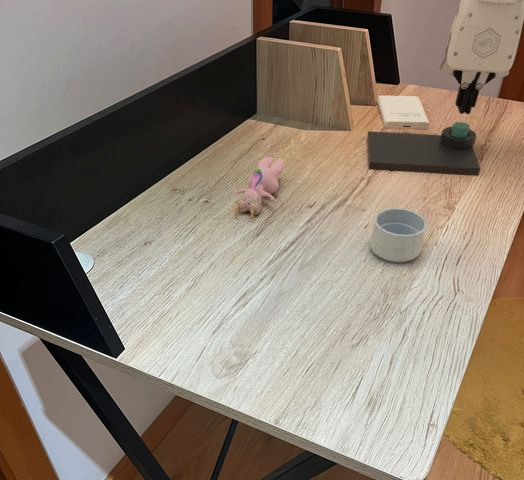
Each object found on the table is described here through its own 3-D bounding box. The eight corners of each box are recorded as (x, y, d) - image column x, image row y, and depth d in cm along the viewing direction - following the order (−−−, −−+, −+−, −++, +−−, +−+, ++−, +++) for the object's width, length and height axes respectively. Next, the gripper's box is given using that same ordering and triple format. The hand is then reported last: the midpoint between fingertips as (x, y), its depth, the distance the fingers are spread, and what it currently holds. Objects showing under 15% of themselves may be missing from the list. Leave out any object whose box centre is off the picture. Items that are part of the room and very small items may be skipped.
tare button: (465, 132, 100) (468, 122, 99) (468, 139, 98) (470, 129, 97) (449, 131, 100) (452, 121, 99) (451, 138, 99) (454, 128, 97)
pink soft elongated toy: (264, 231, 84) (295, 171, 93) (262, 198, 80) (295, 138, 88) (225, 222, 86) (259, 164, 94) (221, 190, 81) (257, 132, 89)
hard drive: (417, 104, 116) (428, 130, 107) (376, 103, 116) (384, 129, 107) (418, 96, 115) (430, 121, 106) (378, 95, 115) (385, 120, 106)
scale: (468, 143, 103) (473, 127, 101) (480, 176, 94) (485, 159, 92) (366, 137, 104) (369, 121, 102) (368, 169, 96) (371, 152, 93)
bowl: (417, 237, 81) (424, 209, 78) (422, 266, 76) (429, 237, 73) (369, 234, 82) (373, 206, 79) (370, 262, 77) (375, 234, 74)
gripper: (448, -11, 81) (420, 117, 94) (555, -6, 80) (512, 123, 93) (442, -24, 87) (417, 99, 100) (543, -19, 86) (504, 104, 99)
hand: (463, 110), depth 97 cm, fingers closed
